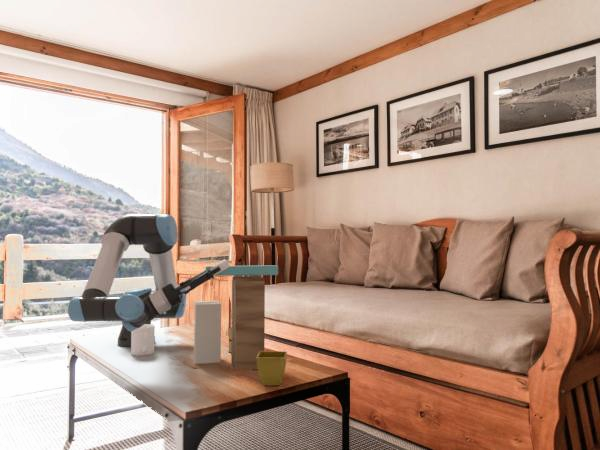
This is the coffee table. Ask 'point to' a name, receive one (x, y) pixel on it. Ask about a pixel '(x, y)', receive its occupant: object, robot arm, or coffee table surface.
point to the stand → (247, 321)
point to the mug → (143, 340)
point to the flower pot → (271, 367)
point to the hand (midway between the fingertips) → (227, 262)
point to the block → (248, 270)
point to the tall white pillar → (207, 332)
